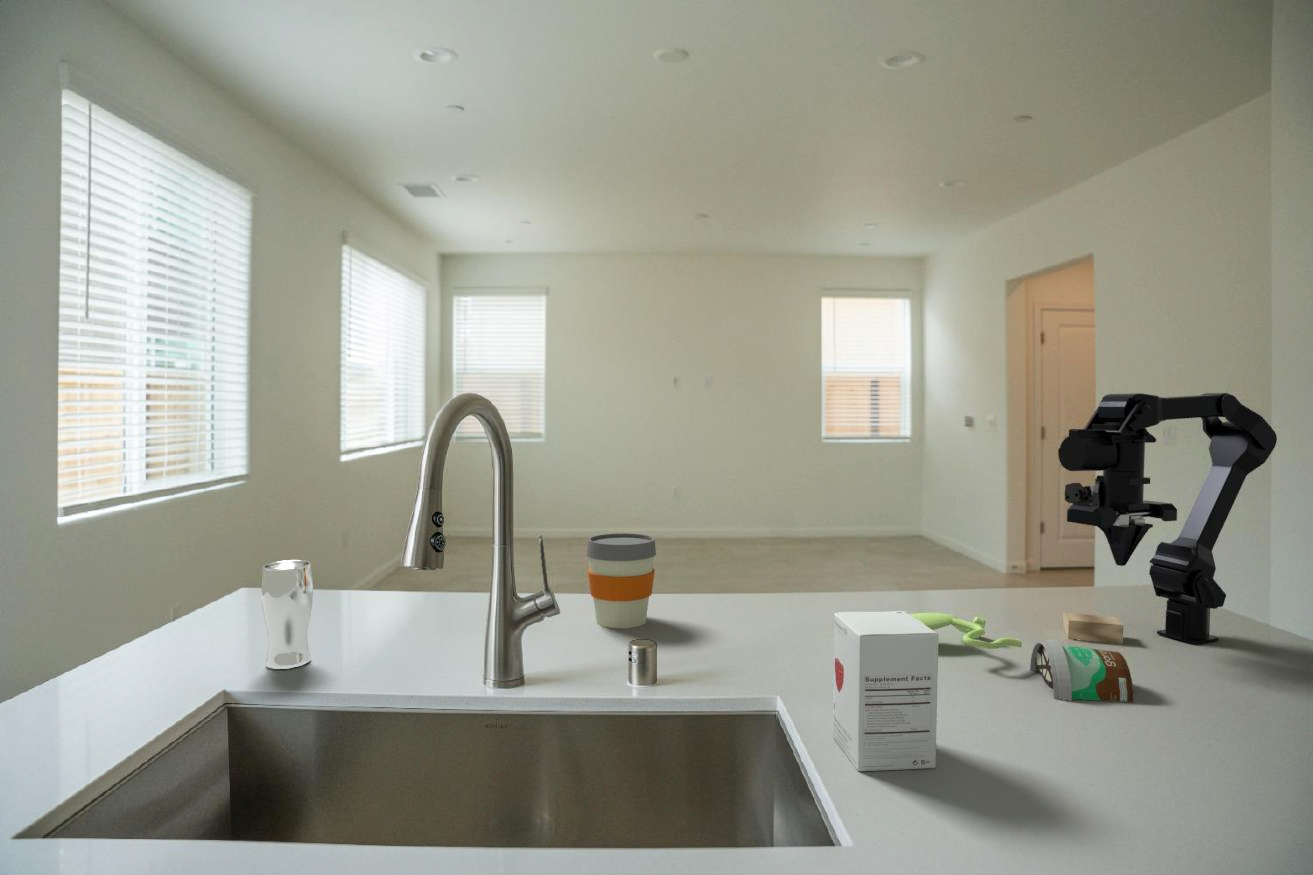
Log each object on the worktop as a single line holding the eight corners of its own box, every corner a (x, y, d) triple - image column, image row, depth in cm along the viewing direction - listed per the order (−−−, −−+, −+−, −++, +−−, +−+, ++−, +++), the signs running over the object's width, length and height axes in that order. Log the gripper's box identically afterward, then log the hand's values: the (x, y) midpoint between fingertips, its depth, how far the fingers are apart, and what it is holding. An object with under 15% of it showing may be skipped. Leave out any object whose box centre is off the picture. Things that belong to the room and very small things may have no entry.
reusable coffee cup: (572, 620, 138) (572, 538, 137) (625, 608, 146) (625, 530, 146) (616, 636, 128) (616, 547, 128) (670, 622, 137) (670, 539, 136)
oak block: (1115, 637, 130) (1116, 617, 129) (1122, 645, 125) (1123, 624, 125) (1062, 632, 132) (1063, 612, 132) (1068, 640, 128) (1068, 620, 127)
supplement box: (830, 736, 90) (831, 610, 89) (903, 733, 90) (905, 609, 90) (856, 773, 81) (858, 633, 80) (938, 770, 81) (940, 631, 81)
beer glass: (324, 659, 116) (322, 562, 115) (285, 673, 110) (283, 571, 109) (292, 653, 119) (290, 558, 118) (252, 666, 113) (250, 566, 112)
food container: (1139, 659, 99) (1055, 654, 101) (1138, 706, 99) (1054, 699, 101) (1104, 631, 111) (1030, 627, 113) (1102, 673, 111) (1029, 668, 113)
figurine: (1027, 678, 110) (1028, 640, 110) (838, 662, 116) (838, 626, 116) (999, 639, 128) (1000, 607, 128) (837, 628, 134) (837, 597, 134)
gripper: (1117, 465, 135) (1114, 552, 136) (1039, 468, 128) (1037, 560, 129) (1180, 470, 125) (1177, 564, 125) (1100, 473, 118) (1097, 573, 118)
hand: (1120, 565), depth 125 cm, fingers closed
